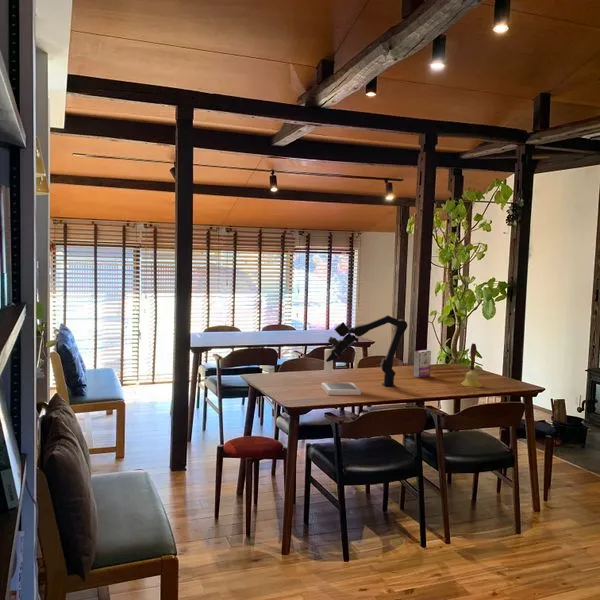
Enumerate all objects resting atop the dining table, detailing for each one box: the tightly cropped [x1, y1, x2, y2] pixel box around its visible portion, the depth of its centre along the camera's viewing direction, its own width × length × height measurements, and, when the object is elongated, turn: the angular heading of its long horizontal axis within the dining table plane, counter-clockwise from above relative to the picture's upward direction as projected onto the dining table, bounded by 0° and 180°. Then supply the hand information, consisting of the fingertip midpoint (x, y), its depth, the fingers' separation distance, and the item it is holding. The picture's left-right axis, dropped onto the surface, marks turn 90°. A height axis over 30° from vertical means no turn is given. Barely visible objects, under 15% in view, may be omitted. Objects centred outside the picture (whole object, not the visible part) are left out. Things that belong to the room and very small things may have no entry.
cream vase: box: [323, 348, 334, 374], centre depth 326 cm, size 5×5×13 cm
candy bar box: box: [413, 349, 432, 379], centre depth 356 cm, size 11×5×16 cm, turn 129°
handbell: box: [460, 343, 483, 388], centre depth 335 cm, size 12×12×25 cm
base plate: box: [320, 382, 362, 396], centre depth 309 cm, size 18×18×3 cm
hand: (326, 360), depth 326 cm, fingers closed on cream vase, 5 cm apart
